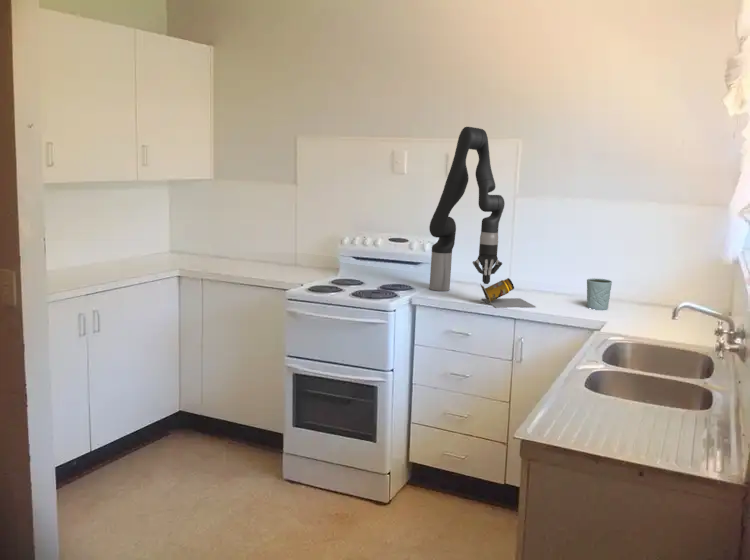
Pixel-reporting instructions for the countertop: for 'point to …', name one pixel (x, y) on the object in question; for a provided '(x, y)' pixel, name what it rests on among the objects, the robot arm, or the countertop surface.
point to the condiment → (497, 289)
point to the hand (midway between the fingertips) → (485, 283)
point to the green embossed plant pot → (598, 293)
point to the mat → (509, 303)
